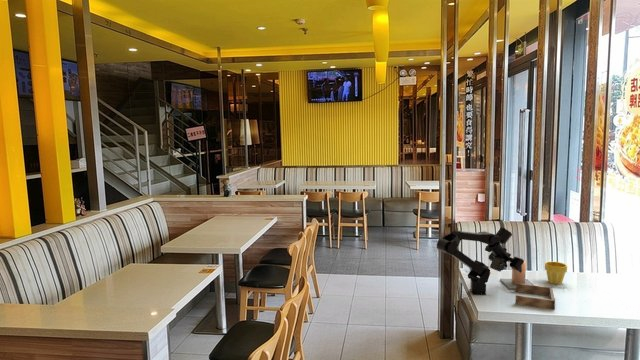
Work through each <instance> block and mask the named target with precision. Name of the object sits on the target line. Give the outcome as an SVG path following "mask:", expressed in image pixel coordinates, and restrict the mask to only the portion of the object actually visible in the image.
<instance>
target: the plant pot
mask: <svg viewBox="0 0 640 360" xmlns="http://www.w3.org/2000/svg"><path fill="white" fill-rule="evenodd" d="M544 269H545V272H546V277H547V281H548V282H549V284H550V283H551V284H555V285H561V284H562V283H563V281H564V279H565V278H564V277H565V275H566V273H567V272H568V265H567V264H566V263H564V262H559V261H545V263H544Z"/></svg>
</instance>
